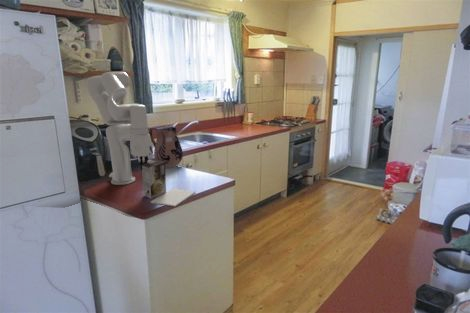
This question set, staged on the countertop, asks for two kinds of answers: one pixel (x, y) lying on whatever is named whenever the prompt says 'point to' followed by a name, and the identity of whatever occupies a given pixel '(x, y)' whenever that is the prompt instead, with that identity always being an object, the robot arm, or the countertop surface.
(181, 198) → the mat
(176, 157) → the ceramic pitcher
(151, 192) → the coffee box
